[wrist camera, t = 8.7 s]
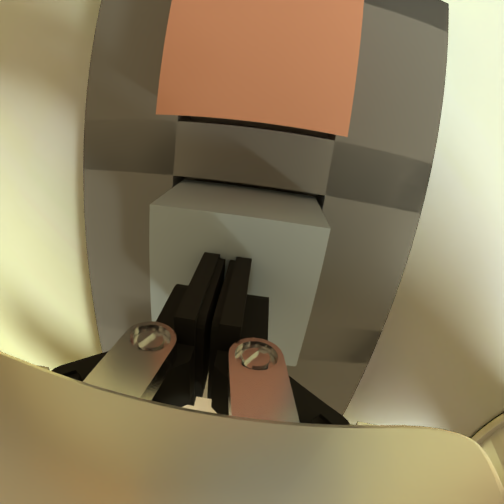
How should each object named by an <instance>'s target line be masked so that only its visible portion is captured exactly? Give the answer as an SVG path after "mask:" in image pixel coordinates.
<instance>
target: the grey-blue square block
mask: <svg viewBox="0 0 504 504" xmlns="http://www.w3.org/2000/svg"><path fill="white" fill-rule="evenodd" d="M330 230H331V228H330V226H329V224H328V222H327V220H326V218H325V216H324V214H323V212H322V210H321V208H320V206H319V204H318V202H317V200H316V198H315V197H314V196H308V195H301V194H295V193H288V192H282V191H275V190H268V189H260V188H253V187H245V186H238V185H230V184H221V183H213V182H204V181H195V180H185V179H184V180H183V181H181V182H180V183H178V184H177V185H176V186H174V187H173V188H171V189H170V190H169V191H167V192H166V193H165V194H163V195H162V196H160V197H159V198H158V199H156V200H155V201H154V202H152V203H151V204H150V215H149V261H150V296H151V316H152V321H154V322H156V320H157V318H158V316H159V314H160V313H161V311H162V309H163V307H164V305H165V303H166V301H167V299H168V297H169V296H170V294H171V292H172V290H173V288H174V286H175V285H176V284H182V285H189V283H190V281H191V279H192V277H193V275H194V273H195V271H196V269H197V266H198V264H199V262H200V260H201V258H202V256H203V254H204V252H208V253H215V254H220V258H222V259H225V272H224V278H225V275H226V271H227V268H228V265H229V261H230V260H236V257H244V258H251V259H252V262H251V269H250V276H249V284H248V291H247V294H249V295H257V296H264V297H269V320H268V341H270V342H272V343H273V344H275V345H277V346H278V347H279V348H280V349H281V351H282V353H283V355H284V359H285V363H286V365H288V366H296V365H297V361H298V358H299V354H300V351H301V347H302V343H303V340H304V336H305V333H306V329H307V325H308V321H309V318H310V314H311V310H312V306H313V302H314V298H315V294H316V290H317V286H318V282H319V278H320V274H321V270H322V265H323V261H324V257H325V252H326V248H327V243H328V239H329V234H330Z"/></svg>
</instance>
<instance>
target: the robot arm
mask: <svg viewBox="0 0 504 504" xmlns="http://www.w3.org/2000/svg"><path fill="white" fill-rule="evenodd" d="M251 262H252V259H251V258H244V257H236V260H230V261H229V265H228V268H227V271H226V275H225V278H224V272H225V259H222V258H220V254H215V253H208V252H204V254H203V256H202V258H201V260H200V262H199V264H198V266H197V269H196V271H195V273H194V275H193V277H192V279H191V281H190V283H189V285H182V284H176V285H175V286H174V288H173V290H172V292H171V294H170V296H169V297H168V299H167V301H166V303H165V305H164V307H163V309H162V311H161V313H160V314H159V316H158V318H157V320H156V322H154V321H146V322H141V323H138V324H135V325H133V326H132V327H130V328H129V329H128V330H127V331H126V332H125V333H124V334H123V335H122V337H121V338H120V339H119V340H118V341H117V342H116V343H115V345H114V346H113V347H112V348H111V349H110V350H109V351H107V352H104V353H101V354H97V355H94V356H91V357H88V358H84V359H81V360H78V361H75V362H71V363H68V364H65V365H61V366H59V367H57V368H54V369H53V370H52V371H50V370H49V367H45V366H38V365H34V364H31V363H29V362H26V361H24V360H21V359H19V358H16V357H13V356H11V355H8V354H6V353H3V352H1V351H0V504H504V413H503V414H501V415H500V416H498V417H497V418H495V419H494V420H492V421H491V422H490V423H488V424H487V425H486V426H484V427H483V428H482V429H481V430H480V431H478V432H477V433H476V434H475V435H474V436H473V437H472V438H469V437H466V436H464V435H462V434H459V433H456V432H452V431H448V430H444V429H440V428H432V427H424V426H407V425H374V424H368V423H363V422H357V424H356V425H352V424H349V422H348V421H347V420H346V419H345V418H344V417H343V416H342V415H341V414H340V413H338V412H337V411H335V410H334V409H333V408H331V407H330V406H329V405H327V404H326V403H324V402H323V401H322V400H320V399H319V398H318V397H316V396H315V395H314V394H312V393H311V392H310V391H308V390H307V389H306V388H305V387H303V386H302V385H301V384H299V383H298V382H297V381H295V380H294V379H293V378H292V377H290V376H289V375H288V371H287V367H286V363H285V359H284V355H283V353H282V351H281V349H280V348H279V347H278V346H277V345H275V344H273V343H272V342H270V341H268V320H269V297H264V296H257V295H249V294H247V291H248V284H249V276H250V269H251ZM208 372H209V373H208ZM207 376H208V392H207V398H208V399H212V402H211V407H212V409H213V410H214V411H215V412H216V413H211V412H205V411H199V410H194V409H188V408H183V406H185V405H191V406H194V404H195V400H196V397H203V393H204V389H205V385H206V380H207Z"/></svg>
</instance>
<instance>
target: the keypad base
mask: <svg viewBox="0 0 504 504" xmlns="http://www.w3.org/2000/svg"><path fill="white" fill-rule="evenodd" d="M171 2H172V0H102V1H101V5H100V10H99V15H98V20H97V25H96V31H95V36H94V42H93V48H92V55H91V62H90V70H89V78H88V88H87V99H86V111H85V128H84V161H83V178H84V213H85V230H86V243H87V254H88V264H89V273H90V281H91V289H92V296H93V303H94V309H95V315H96V321H97V327H98V332H99V338H100V343H101V348H102V353H104V352H107V351H109V350H110V349H111V348H112V347H113V346H114V345H115V343H116V342H117V341H118V340H119V339H120V338H121V337H122V335H123V334H124V333H125V332H126V331H127V330H128V329H129V328H130V327H132V326H133V325H135V324H138V323H141V322H146V321H152V316H151V296H150V261H149V215H150V204H151V203H152V202H154V201H155V200H156V199H158V198H159V197H160V196H162V195H163V194H165V193H166V192H167V191H169V190H170V189H171V188H173V187H174V186H176V185H177V184H178V183H180V182H181V181H183V180H184V179H185V180H195V181H204V182H213V183H221V184H230V185H238V186H245V187H253V188H260V189H268V190H275V191H282V192H288V193H295V194H301V195H308V196H314V197H315V198H316V200H317V202H318V204H319V206H320V208H321V210H322V212H323V214H324V216H325V218H326V220H327V222H328V224H329V226H330V228H331V230H330V234H329V239H328V243H327V248H326V252H325V257H324V261H323V265H322V270H321V274H320V278H319V282H318V286H317V290H316V294H315V298H314V302H313V306H312V310H311V314H310V318H309V321H308V325H307V329H306V333H305V336H304V340H303V343H302V347H301V351H300V354H299V358H298V361H297V365H296V366H288V365H286V367H287V371H288V375H289V376H290V377H292V378H293V379H294V380H295V381H297V382H298V383H299V384H301V385H302V386H303V387H305V388H306V389H307V390H308V391H310V392H311V393H312V394H314V395H315V396H316V397H318V398H319V399H320V400H322V401H323V402H324V403H326V404H327V405H329V406H330V407H331V408H333V409H334V410H335V411H337V412H338V413H340V414H341V415H342V416H343V414H344V412H345V410H346V408H347V406H348V404H349V402H350V400H351V398H352V396H353V394H354V392H355V390H356V388H357V386H358V384H359V382H360V380H361V378H362V375H363V373H364V371H365V369H366V367H367V365H368V362H369V360H370V358H371V356H372V353H373V351H374V349H375V346H376V344H377V341H378V339H379V337H380V334H381V332H382V329H383V327H384V324H385V322H386V319H387V317H388V314H389V311H390V309H391V306H392V303H393V301H394V298H395V295H396V292H397V289H398V287H399V284H400V281H401V278H402V275H403V272H404V269H405V266H406V263H407V260H408V256H409V253H410V250H411V247H412V243H413V240H414V236H415V233H416V229H417V226H418V222H419V218H420V215H421V211H422V207H423V203H424V199H425V195H426V191H427V186H428V182H429V177H430V173H431V168H432V163H433V158H434V153H435V148H436V142H437V136H438V130H439V124H440V117H441V110H442V103H443V95H444V86H445V75H446V63H447V48H448V15H449V8H448V3H446V2H443V1H441V0H364V7H363V19H362V30H361V40H360V49H359V58H358V67H357V75H356V83H355V90H354V98H353V105H352V111H351V118H350V125H349V131H348V137H345V136H340V135H335V134H329V133H324V132H319V131H313V130H307V129H301V128H295V127H289V126H282V125H275V124H268V123H260V122H252V121H243V120H233V119H223V118H212V117H198V116H182V115H159V114H156V106H157V97H158V87H159V79H160V71H161V63H162V56H163V49H164V43H165V36H166V30H167V24H168V19H169V13H170V8H171Z"/></svg>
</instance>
